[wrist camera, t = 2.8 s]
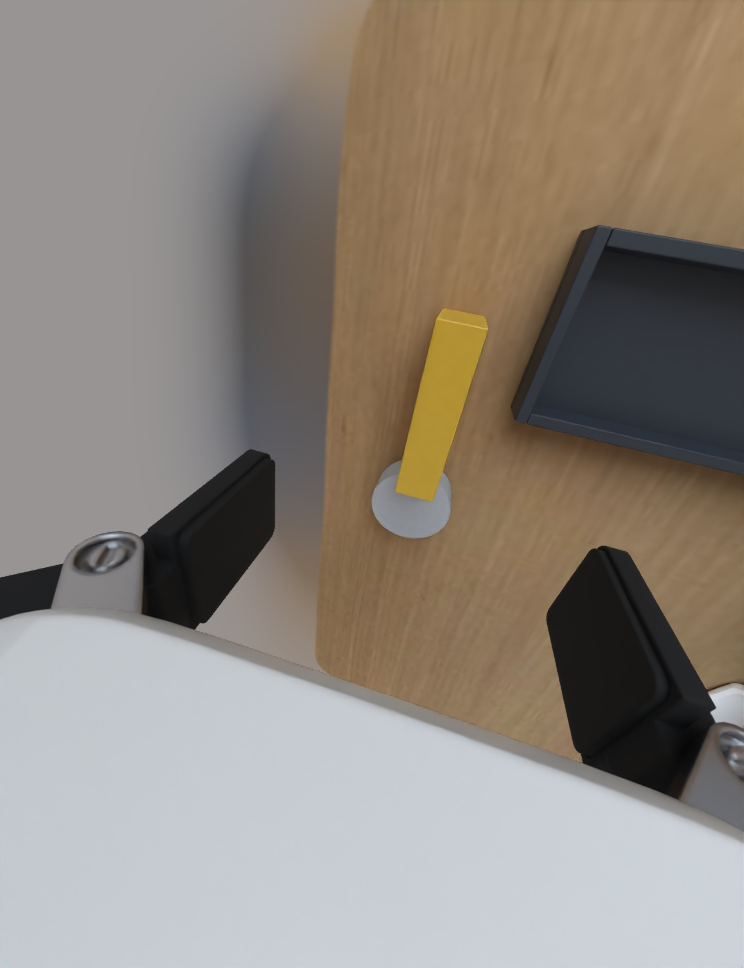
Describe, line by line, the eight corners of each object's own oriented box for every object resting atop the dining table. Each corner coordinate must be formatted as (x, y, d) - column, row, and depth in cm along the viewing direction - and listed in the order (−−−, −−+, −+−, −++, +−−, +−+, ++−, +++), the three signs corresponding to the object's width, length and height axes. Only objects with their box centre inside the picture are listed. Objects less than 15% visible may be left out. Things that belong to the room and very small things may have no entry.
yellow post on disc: (414, 301, 18) (400, 310, 14) (514, 322, 17) (526, 336, 14) (372, 510, 26) (356, 549, 22) (440, 529, 25) (435, 572, 22)
